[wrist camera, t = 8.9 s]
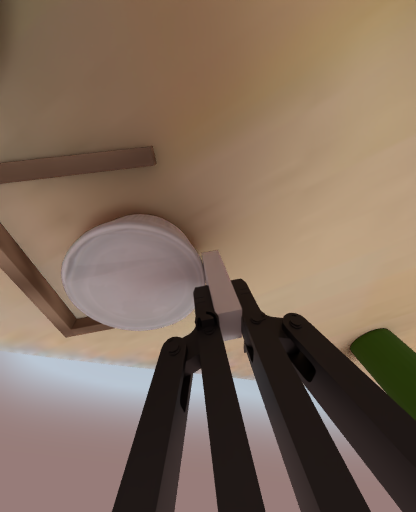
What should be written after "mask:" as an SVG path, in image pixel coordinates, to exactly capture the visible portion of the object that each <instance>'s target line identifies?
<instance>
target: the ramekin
mask: <svg viewBox="0 0 416 512" xmlns="http://www.w3.org/2000/svg"><path fill="white" fill-rule="evenodd" d="M61 277H62V283H63V286H64V289H65V291H66V293H67V295H68V297H69V298H70V300H71V301H72V303H73V304H74V305H75V306H76V307H77V308H78V309H79V310H80V311H82V312H83V313H84V314H85V315H87V316H88V317H90V318H92V319H93V320H95V321H98V322H100V323H102V324H104V325H107V326H110V327H114V328H118V329H123V330H132V331H144V330H153V329H158V328H162V327H166V326H169V325H171V324H174V323H176V322H178V321H180V320H182V319H184V318H185V317H186V316H187V315H189V314H190V313H191V312H192V311H193V310H194V308H195V306H194V297H193V292H194V289H195V287H200V286H205V271H204V266H203V263H202V260H201V258H200V256H199V254H198V252H197V251H196V249H195V248H194V247H193V246H192V244H191V243H190V242H189V240H188V238H187V237H186V236H185V234H184V233H183V232H182V231H181V230H180V229H179V228H177V227H176V226H175V225H174V224H172V223H170V222H169V221H167V220H164V219H163V218H159V217H157V216H151V215H144V214H133V215H128V216H124V217H121V218H117V219H115V220H113V221H111V222H107V223H104V224H101V225H98V226H96V227H94V228H92V229H90V230H89V231H87V232H86V233H84V234H83V235H82V236H81V237H80V238H79V239H77V240H76V241H75V242H74V243H73V245H72V246H71V247H70V248H69V250H68V251H67V253H66V255H65V257H64V260H63V263H62V268H61Z"/></svg>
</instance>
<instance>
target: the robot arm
mask: <svg viewBox="0 0 416 512" xmlns="http://www.w3.org/2000/svg"><path fill="white" fill-rule="evenodd" d="M202 260H203V266H204V271H205V280H206V285H205V286H200V287H195V289H194V292H193V297H194V306H195V314H196V318H195V324H196V327H195V329H194V330H193V331H192V332H191V333H190V334H189V335H187V336H185V337H183V338H181V337H172V338H170V339H168V340H167V341H166V342H165V343H164V344H163V346H162V349H161V352H160V355H159V358H158V362H157V365H156V368H155V372H154V375H153V378H152V382H151V385H150V388H149V391H148V395H147V398H146V401H145V405H144V408H143V411H142V415H141V418H140V421H139V424H138V428H137V431H136V434H135V438H134V441H133V444H132V448H131V451H130V454H129V458H128V461H127V464H126V467H125V471H124V474H123V478H122V480H121V484H120V487H119V490H118V494H117V497H116V500H115V504H114V507H113V510H112V512H174V510H175V502H176V495H177V487H178V480H179V472H180V465H181V458H182V451H183V444H184V443H183V442H184V436H185V429H186V421H187V414H188V406H189V399H190V392H191V385H192V378H193V373H194V372H196V371H197V370H199V369H201V370H202V378H203V386H204V395H205V404H206V412H207V420H208V428H209V438H210V446H211V454H212V463H213V471H214V480H215V488H216V497H217V506H218V512H265V508H264V504H263V500H262V496H261V492H260V488H259V483H258V479H257V475H256V471H255V467H254V463H253V459H252V455H251V451H250V447H249V444H248V439H247V435H246V431H245V427H244V423H243V419H242V414H241V411H240V407H239V402H238V398H237V394H236V390H235V386H234V382H233V378H232V374H231V370H230V366H229V362H228V358H227V354H226V350H225V345H224V341H226V340H231V339H236V338H241V337H242V335H243V338H244V353H246V352H247V355H248V358H249V361H250V364H251V367H252V370H253V373H254V376H255V379H256V381H257V384H258V387H259V390H260V393H261V396H262V399H263V402H264V404H265V408H266V410H267V414H268V417H269V420H270V422H271V425H272V428H273V431H274V434H275V437H276V440H277V443H278V446H279V449H280V451H281V454H282V458H283V461H284V464H285V466H286V469H287V472H288V475H289V478H290V481H291V484H292V487H293V489H294V493H295V496H296V499H297V501H298V505H299V507H300V510H301V512H371V511H370V509H369V507H368V505H367V504H366V502H365V500H364V498H363V496H362V494H361V493H360V490H359V489H358V487H357V485H356V483H355V481H354V479H353V477H352V475H351V473H350V472H349V470H348V468H347V466H346V464H345V462H344V460H343V458H342V456H341V455H340V453H339V451H338V449H337V447H336V446H335V443H334V441H333V440H332V438H331V436H330V434H329V432H328V430H327V428H326V427H325V424H324V423H323V421H322V419H321V417H320V415H319V413H318V411H317V409H316V408H315V406H314V404H313V402H312V400H311V398H310V396H309V394H308V393H307V391H306V389H305V387H304V385H305V386H306V388H307V389H308V390H309V391H310V393H311V394H312V395H313V397H314V398H315V399H316V400H317V402H318V403H319V404H320V406H321V407H322V408H323V409H324V411H325V412H326V413H327V415H328V416H329V417H330V419H331V420H332V421H333V423H334V424H335V425H336V426H337V428H338V429H339V430H340V432H341V433H342V434H343V435H344V437H345V438H346V439H347V441H348V442H349V443H350V444H351V446H352V447H353V448H354V449H355V451H356V452H357V453H358V455H359V456H360V457H361V459H362V460H363V461H364V463H365V464H366V465H367V466H368V468H369V469H370V470H371V471H372V473H373V474H374V476H375V477H376V478H377V479H378V481H379V482H380V483H381V485H382V486H383V487H384V488H385V490H386V491H387V492H388V494H389V495H390V496H391V498H392V499H393V500H394V501H395V503H396V504H397V505H398V507H399V508H400V509H401V510H402V512H416V420H414V419H413V418H412V417H411V416H410V415H409V414H408V413H407V412H406V411H405V410H404V409H403V408H401V407H400V406H399V405H398V404H397V403H396V402H395V401H394V400H393V399H392V398H391V397H390V396H388V395H387V394H386V393H385V392H384V391H383V390H382V389H381V388H380V387H379V386H378V385H377V384H375V383H374V382H373V381H372V380H371V379H370V378H369V377H368V376H367V375H366V374H365V373H364V372H362V371H361V370H360V369H359V368H358V367H357V366H356V365H355V364H354V363H353V362H352V361H351V360H349V359H348V358H347V357H346V356H345V355H344V354H343V353H342V352H341V351H340V350H339V349H338V348H336V347H335V346H334V345H333V344H332V343H331V342H330V341H329V340H328V339H327V338H326V337H325V336H324V335H322V334H321V333H320V332H319V331H318V330H317V329H316V328H315V327H314V326H313V325H312V324H311V323H309V322H308V321H307V320H306V319H305V318H304V317H302V316H301V315H299V314H296V313H288V314H286V315H285V316H284V317H283V318H277V317H270V316H267V315H265V313H263V312H262V311H261V310H260V309H259V307H258V305H257V303H256V301H255V299H254V297H253V295H252V293H251V291H250V289H249V287H248V285H247V284H246V282H245V281H243V280H242V279H236V280H230V278H229V276H228V273H227V271H226V268H225V266H224V263H223V261H222V258H221V256H220V253H219V251H218V250H215V251H209V252H203V253H202ZM302 382H303V383H302ZM303 384H304V385H303Z"/></svg>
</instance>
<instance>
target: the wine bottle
mask: <svg viewBox="0 0 416 512" xmlns="http://www.w3.org/2000/svg"><path fill="white" fill-rule="evenodd" d="M350 349H351V352H352V353H353V354H354V356H355V357H356V358H357V359H358V360H359V362H360V363H361V364H362V365H363V366H364V367H365V369H366V370H367V371H368V372H369V373H370V374H371V376H372V377H373V378H374V379H375V380H376V382H377V383H378V384H379V385H380V386H381V387H382V389H383V390H384V391H385V392H386V393H387V395H388V396H390V397H391V398H392V399H393V400H394V401H395V402H396V403H397V404H398V405H399V406H400V407H401V408H403V409H404V410H405V411H406V412H407V413H408V414H409V415H410V416H411V417H412V418H413V419H414V420H416V353H415V352H414V351H413V350H412V349H411V348H409V347H408V346H407V345H406V344H405V343H404V342H403V341H401V340H400V339H399V338H398V337H397V336H396V335H394V334H393V333H392V332H391V331H389V330H388V329H384V328H383V329H376V330H373V331H370V332H368V333H366V334H364V335H362V336H361V337H359V338H358V339H356V340H355V341H354V342H353V343H352V345H351V347H350Z"/></svg>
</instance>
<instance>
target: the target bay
mask: <svg viewBox="0 0 416 512" xmlns="http://www.w3.org/2000/svg"><path fill="white" fill-rule="evenodd" d="M156 164H157V163H156V159H155V154H154V150H153V146H150V147H141V148H132V149H123V150H114V151H105V152H96V153H87V154H78V155H69V156H60V157H51V158H42V159H33V160H23V161H14V162H5V163H0V184H2V183H10V182H19V181H27V180H35V179H44V178H52V177H60V176H69V175H77V174H86V173H94V172H102V171H111V170H119V169H128V168H136V167H144V166H153V165H156ZM0 268H1V269H2V270H3V271H4V272H5V273H6V274H7V275H8V276H9V277H10V278H11V280H12V281H13V282H14V283H15V284H16V285H17V286H18V287H19V288H20V289H21V290H22V291H23V292H24V293H25V295H26V296H27V297H28V298H29V299H30V300H31V301H32V302H33V303H34V304H35V305H36V306H37V307H38V308H39V310H40V311H41V312H42V313H43V314H44V315H45V316H46V317H47V318H48V319H49V320H50V321H51V322H52V323H53V324H54V326H55V327H56V328H57V329H58V330H59V331H60V332H61V333H62V334H63V335H64V336H65V337H71V336H76V335H82V334H87V333H92V332H97V331H103V330H108V329H113V328H114V327H110V326H107V325H104V324H102V323H100V322H98V321H95V320H93V319H92V318H90V317H86V318H80V319H76V318H75V316H74V315H73V314H72V313H71V311H70V310H69V309H68V308H67V306H66V305H65V304H64V302H63V301H62V300H61V299H60V297H59V296H58V295H57V294H56V292H55V291H54V290H53V289H52V287H51V286H50V285H49V284H48V282H47V281H46V280H45V279H44V277H43V276H42V275H41V274H40V272H39V271H38V270H37V269H36V267H35V266H34V265H33V263H32V262H31V261H30V260H29V258H28V257H27V256H26V255H25V253H24V252H23V251H22V250H21V248H20V247H19V246H18V245H17V243H16V242H15V241H14V240H13V238H12V237H11V236H10V235H9V233H8V232H7V231H6V230H5V228H4V227H3V226H2V225H1V223H0Z"/></svg>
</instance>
